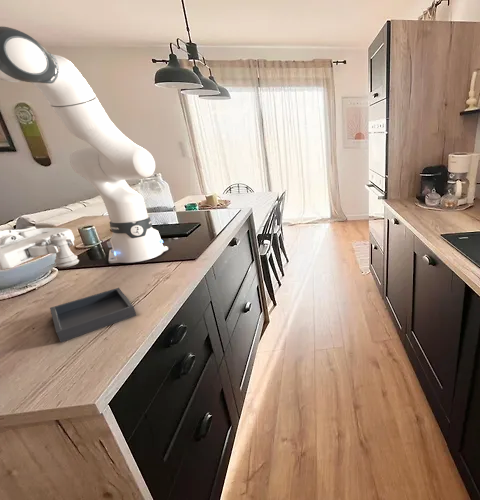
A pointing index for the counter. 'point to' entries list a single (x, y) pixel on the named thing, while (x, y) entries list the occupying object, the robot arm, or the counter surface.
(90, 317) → the tray
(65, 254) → the rook chess piece
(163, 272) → the counter surface
